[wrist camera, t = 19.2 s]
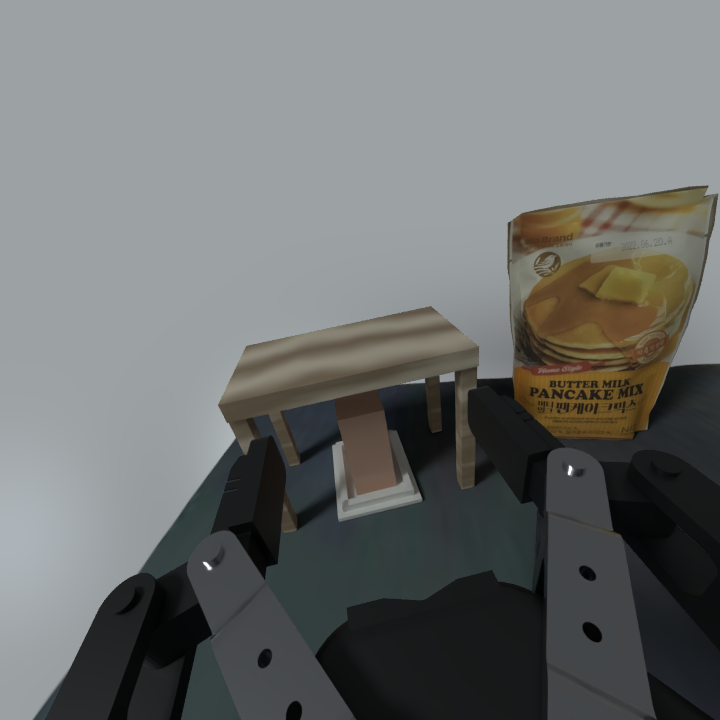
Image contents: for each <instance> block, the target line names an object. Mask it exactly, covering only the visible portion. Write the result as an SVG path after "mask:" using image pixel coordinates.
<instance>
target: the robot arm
mask: <svg viewBox="0 0 720 720" xmlns="http://www.w3.org/2000/svg"><path fill="white" fill-rule="evenodd" d="M468 424H469V428H470V430H471V432H472V434H473V436H474V437H475V438H476V440H477V441H478V443H479V444H480V446H481V447H482V448H483V450H484V451H485V453H486V454H487V456H488V457H489V458H490V460H491V461H492V463H493V464H494V466H495V467H496V468H497V470H498V471H499V473H500V474H501V476H502V477H503V478H504V480H505V481H506V483H507V484H508V486H509V487H510V488H511V490H512V491H513V493H514V494H515V496H516V497H517V498H518V500H519V501H520V503H521V504H523V503H527V502H531V501H533V502H534V503H535V505H536V506H537V507H538V511H537V525H536V545H535V565H534V575H533V583H532V591H530V590H528V589H526V588H523V587H520V586H517V585H514V584H510V583H505V582H498V581H497V579H496V577H495V575H494V573H493V571H492V570H490V571H487V572H483V573H479V574H475V575H471V576H467V577H463V578H460V579H456V580H455V581H453V582H452V583H450V584H449V585H447V586H446V587H444V588H443V589H441V590H439V591H438V592H436V593H435V594H433V595H432V596H430V597H429V598H427V599H425V600H420V601H419V600H402V599H385V598H383V599H379V600H375V601H371V602H367V603H363V604H360V605H356V606H352V607H348V608H347V614H348V621H346V622H345V623H343V624H342V625H341V626H340V627H338V628H337V629H336V630H335V631H334V632H333V633H332V634H331V635H330V636H329V637H328V638H327V639H326V641H325V642H324V643H323V645H322V646H321V647H320V649H319V650H318V652H317V654H316V655H315V656H314V655H313V653H312V652H311V650H310V648H309V647H308V645H307V644H306V642H305V641H304V639H303V638H302V636H301V635H300V633H299V632H298V630H297V629H296V627H295V626H294V624H293V623H292V621H291V620H290V618H289V617H288V615H287V613H286V612H285V610H284V609H283V607H282V606H281V604H280V603H279V601H278V600H277V598H276V597H275V595H274V594H273V592H272V591H271V589H270V588H269V586H268V585H267V583H266V582H265V574H266V567H267V566H271V565H275V564H278V554H279V544H280V534H281V524H282V514H283V504H284V493H285V483H286V470H285V465H284V462H283V459H282V457H281V455H280V452H279V450H278V448H277V445H276V443H275V441H274V438H273V437H272V436H267V437H262V438H258V439H254V440H251V442H250V445H249V449H248V453H247V455H244V456H240V457H239V458H238V460H237V461H236V462H235V464H234V465H233V466H232V468H231V470H230V474H229V477H228V480H227V481H228V483H226V486H225V490H224V493H223V496H222V499H221V503H220V506H219V509H218V512H217V515H216V519H215V522H214V525H213V528H212V531H211V534H210V536H208V537H207V538H205V539H204V540H203V541H202V542H201V543H200V544H199V545H198V546H197V547H196V548H195V550H194V551H193V553H192V554H191V556H190V558H189V561H188V562H186V563H185V564H183V565H181V566H180V567H178V568H176V569H174V570H172V571H171V572H169V573H167V574H165V575H163V576H162V577H160V578H158V579H155V578H154V577H153V576H152V575H150V574H148V573H140V574H137V575H134V576H132V577H130V578H128V579H127V580H125V581H124V582H122V583H121V584H120V585H118V587H116V588H115V589H114V590H113V591H112V592H111V593H110V595H108V597H107V598H106V599H105V600H104V602H103V603H102V605H101V607H100V608H99V610H98V612H97V614H96V616H95V618H94V620H93V623H92V625H91V627H90V629H89V631H88V633H87V635H86V637H85V639H84V641H83V643H82V645H81V647H80V649H79V651H78V653H77V655H76V657H75V659H74V662H73V664H72V666H71V668H70V670H69V672H68V674H67V676H66V678H65V680H64V682H63V684H62V686H61V688H60V690H59V692H58V694H57V697H56V699H55V701H54V703H53V705H52V707H51V709H50V711H49V713H48V715H47V717H46V719H45V720H181V716H182V712H183V707H184V703H185V698H186V693H187V689H188V684H189V680H190V675H191V671H192V666H193V662H194V657H195V652H196V648H197V645H198V644H199V643H201V642H202V641H204V640H205V639H207V638H208V637H210V636H211V635H213V636H212V637H211V639H210V641H211V646H212V649H213V652H214V654H215V657H216V659H217V662H218V664H219V666H220V669H221V671H222V674H223V676H224V679H225V681H226V684H227V686H228V689H229V691H230V693H231V696H232V698H233V701H234V703H235V706H236V708H237V711H238V713H239V716H240V718H241V720H714V719H713V718H711V717H710V716H709V715H707V714H706V713H704V712H703V711H702V710H700V709H699V708H697V707H696V706H695V705H693V704H692V703H690V702H689V701H688V700H686V699H685V698H683V697H682V696H681V695H679V694H678V693H676V692H675V691H674V690H672V689H671V688H669V687H668V686H667V685H665V684H664V683H662V682H661V681H660V680H658V679H657V678H655V677H654V676H653V675H651V674H650V673H648V672H647V671H646V666H645V660H644V654H643V649H642V643H641V638H640V632H639V626H638V621H637V615H636V610H635V604H634V599H633V593H632V587H631V582H630V576H629V571H628V565H627V559H626V554H625V548H624V543H623V540H622V538H623V539H624V540H625V541H626V543H627V544H628V545H629V546H630V547H631V548H632V550H633V551H634V552H635V553H636V554H637V555H638V557H639V558H640V559H641V560H642V561H643V562H644V564H645V565H646V566H647V567H648V568H649V569H650V570H651V572H652V573H653V574H654V575H655V576H656V577H657V579H658V580H659V581H660V582H661V583H662V584H663V586H664V587H665V588H666V589H667V590H668V591H669V593H670V594H671V595H672V596H673V597H674V598H675V599H676V601H677V602H678V603H679V604H680V605H681V606H682V608H683V609H684V610H685V611H686V612H687V613H688V615H689V616H690V617H691V618H692V619H693V620H694V622H695V623H696V624H697V625H698V626H699V627H700V628H701V630H702V631H703V632H704V633H705V634H706V635H707V637H708V638H709V639H710V640H711V641H712V642H713V644H714V645H715V646H716V647H717V648H718V649H719V651H720V486H718V485H717V484H716V483H714V482H713V481H712V480H710V479H709V478H707V477H706V476H705V475H703V474H702V473H701V472H699V471H698V470H697V469H695V468H694V467H692V466H691V465H690V464H688V463H687V462H685V461H684V460H682V459H680V458H678V457H676V456H674V455H671V454H668V453H665V452H661V451H656V450H642V451H638V452H636V453H635V454H634V455H633V457H632V459H631V461H630V463H624V462H600V461H597V460H596V459H594V458H593V457H592V456H590V455H588V454H587V453H585V452H582V451H580V450H576V449H572V448H566V447H565V446H564V445H563V444H561V443H560V442H559V441H558V440H557V439H556V438H555V437H554V436H553V435H552V434H551V433H550V432H549V431H548V430H547V429H546V428H545V427H544V426H543V425H542V424H541V423H540V422H538V421H537V420H535V419H534V417H533V416H532V415H531V414H530V413H529V412H527V410H526V409H525V408H524V407H523V406H522V405H521V404H520V403H519V402H518V401H516V400H514V399H512V398H510V397H508V396H506V395H502V396H498V395H497V394H496V393H495V392H494V390H493V389H492V388H491V387H489V386H484V387H480V388H475V389H471V390H469V391H468ZM677 525H678V526H679V527H680V528H681V529H682V530H683V531H684V532H685V533H686V534H688V535H689V536H690V537H691V538H692V539H693V540H694V541H695V542H696V543H697V544H698V545H699V546H700V547H701V548H702V549H703V550H705V551H706V552H707V553H708V555H707V554H706V553H705V552H704V551H703V550H702V549H701V548H700V547H699V546H698V545H697V544H696V543H695V542H694V541H693V540H692V539H690V538H689V537H688V536H687V535H686V534H685V533H684V532H683V531H682V530H681V529H680V528H679V527H678V526H677Z"/></svg>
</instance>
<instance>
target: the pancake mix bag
mask: <svg viewBox="0 0 720 720" xmlns="http://www.w3.org/2000/svg"><path fill="white" fill-rule="evenodd" d="M707 188H708V186H692V187H685V188H679V189H674V190H667V191H661V192H654V193H650V194H644V195H638V196H630V197H619V198H606V199H598V200H592V201H585V202H580V203H573V204H567V205H561V206H555V207H550V208H545V209H539V210H534V211H530V212H525V213H522V214H520V215H519V216H517V217H516V218H515V219H513V220H512V221H510V222H509V223H508V274H509V280H510V322H511V332H512V339H513V346H514V361H513V384H514V400H516V401H518V402H519V403H520V404H521V405H522V406H523V407H524V408H525V409H526V410H527V412H529V413H530V414H531V415H532V416H533V417H534V419H535V420H537V421H538V422H540V423H541V424H542V425H543V426H544V427H545V428H546V429H547V430H548V431H549V432H550V433H551V434H552V435H553V436H554V437H555V438H565V439H601V440H633V437H634V432H637V431H642V430H648V421H649V414H650V412H651V410H652V408H653V406H654V405H655V402H656V400H657V398H658V395H659V393H660V391H661V389H662V387H663V384H664V382H665V378H666V375H667V372H668V370H669V367H670V365H671V362H672V360H673V358H674V356H675V354H676V352H677V349H678V347H679V344H680V342H681V339H682V337H683V335H684V332H685V330H686V328H687V326H688V322H689V318H690V314H691V311H692V309H693V306H694V304H695V302H696V300H697V296H698V293H699V289H700V286H701V282H702V277H703V272H704V268H705V263H706V259H707V254H708V246H709V240H710V237H711V234H712V230H713V227H714V221H715V213H716V206H717V199H718V194H712V195H707V196H704V195H705V193H706V191H707Z"/></svg>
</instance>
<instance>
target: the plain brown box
mask: <svg viewBox="0 0 720 720" xmlns="http://www.w3.org/2000/svg"><path fill="white" fill-rule="evenodd" d="M335 407H336V415H337V422H338V425H339V429H340V433H341V437H342V440H343V444H344V448H345V451H346V455H347V459H348V463H349V466H350V470H351V474H352V477H353V481H354V485H355V488H356V492H357V496H358V495H362V494H366V493H370V492H374V491H378V490H382V489H386V488H390V487H394V486H397V484H396V478H395V472H394V466H393V460H392V454H391V448H390V442H389V436H388V430H387V424H386V418H385V412H384V408H383V406H382V403H381V400H380V397H379V395H378V392H377V389H375V390H371V391H367V392H362V393H358V394H353V395H349V396H344V397H340V398H336V399H335Z"/></svg>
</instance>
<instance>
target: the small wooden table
mask: <svg viewBox="0 0 720 720" xmlns="http://www.w3.org/2000/svg"><path fill="white" fill-rule="evenodd" d="M478 365H479V346H477V345H476V344H475V343H474V342H473V341H472V340H470V339H469V338H468V337H467V336H466V335H464V334H463V333H462V332H461V331H459V330H458V329H457V328H456V327H455V326H454V325H452V324H451V323H450V322H449V321H448V320H447V319H445V318H444V317H443V316H442V315H441V314H439V313H438V312H437V311H436V310H435V309H433V308H432V307H431V306H430V307H426V308H421V309H416V310H411V311H407V312H402V313H398V314H393V315H388V316H384V317H379V318H374V319H370V320H365V321H361V322H356V323H352V324H346V325H342V326H337V327H333V328H328V329H324V330H319V331H314V332H310V333H305V334H300V335H295V336H291V337H286V338H282V339H277V340H272V341H268V342H263V343H259V344H254V345H249V346H246V348H245V350H244V352H243V354H242V356H241V358H240V360H239V362H238V365H237V367H236V369H235V371H234V373H233V375H232V377H231V379H230V381H229V384H228V386H227V388H226V390H225V392H224V394H223V396H222V398H221V400H220V402H219V404H218V406H219V408H220V409H221V412H222V414H223V415H224V418H225V420H226V422H227V423H229V424H230V426H231V428H232V430H233V432H234V434H235V436H236V438H237V440H238V442H239V444H240V446H241V448H242V450H243V452H244V454H245V455H247V453H248V449H249V445H250V442H251V440H254V439H258V438H262V437H261V435H260V433H259V431H258V428H257V426H256V424H255V422H254V420H253V417H256V416H261V415H265V414H269V416H270V419H271V421H272V424H273V426H274V429H275V431H276V434H277V436H278V438H279V441H280V443H281V446H282V448H283V451H284V453H285V456H286V458H287V460H288V463H289V465H290V466H294V465H299V464H300V457H301V456H300V454H299V451H298V448H297V446H296V443H295V441H294V438H293V435H292V433H291V430H290V427H289V425H288V422H287V419H286V417H285V414H284V411H283V410H287V409H292V408H296V407H300V406H305V405H309V404H314V403H318V402H322V401H327V400H331V399H336V398H340V397H344V396H349V395H353V394H358V393H362V392H367V391H371V390H375V389H380V388H384V387H389V386H393V385H397V384H402V383H406V382H410V381H415V380H420V379H424V378H425V384H426V396H427V409H428V422H429V428H430V430H431V432H432V433H435V432H439V431H442V421H441V400H440V380H439V375H442V374H445V373H450V372H455V411H456V462H457V481H458V483H459V484H460V486H461V488H462V490H463V489H467V488H471V487H474V479H475V437H474V436H473V434H472V432H471V430H470V428H469V424H468V391H469V390H471V389H475V388H477V366H478ZM281 528H282V530H283V532H284V533H288V532H292V531H296V530H297V516H296V514H295V512H294V509H293V507H292V505H291V503H290V500H289V498H288V496H287V494H286V491H285V493H284V504H283V514H282V524H281Z"/></svg>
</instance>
